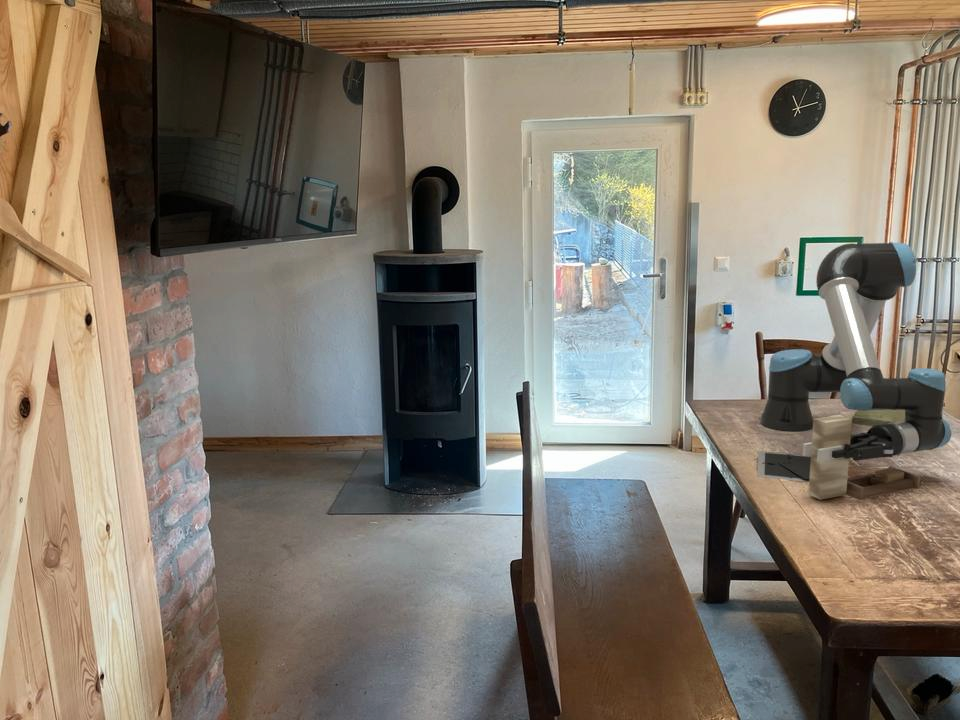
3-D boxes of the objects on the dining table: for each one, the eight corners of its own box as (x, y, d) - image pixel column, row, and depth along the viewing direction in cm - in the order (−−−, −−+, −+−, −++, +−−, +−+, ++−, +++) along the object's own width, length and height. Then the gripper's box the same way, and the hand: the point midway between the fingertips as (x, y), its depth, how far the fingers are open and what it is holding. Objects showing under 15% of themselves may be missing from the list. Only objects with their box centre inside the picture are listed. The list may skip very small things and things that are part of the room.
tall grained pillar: (808, 494, 163) (813, 418, 160) (834, 489, 166) (839, 414, 162) (820, 499, 160) (825, 422, 157) (846, 494, 163) (852, 418, 159)
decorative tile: (925, 434, 211) (926, 423, 211) (850, 425, 223) (851, 414, 222) (931, 419, 226) (932, 409, 225) (860, 411, 238) (861, 401, 237)
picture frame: (826, 491, 172) (821, 463, 190) (827, 480, 171) (821, 453, 190) (756, 484, 177) (758, 457, 196) (757, 473, 177) (758, 447, 196)
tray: (831, 492, 169) (833, 476, 168) (889, 481, 174) (890, 466, 174) (859, 504, 161) (861, 488, 161) (918, 492, 167) (920, 476, 166)
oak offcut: (874, 484, 170) (875, 470, 169) (890, 481, 171) (891, 467, 171) (886, 489, 167) (888, 475, 166) (902, 486, 168) (904, 472, 167)
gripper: (921, 465, 160) (839, 480, 152) (860, 444, 175) (783, 457, 168) (924, 433, 158) (842, 447, 151) (862, 415, 174) (785, 426, 166)
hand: (811, 452), depth 159 cm, fingers closed on tall grained pillar, 3 cm apart
